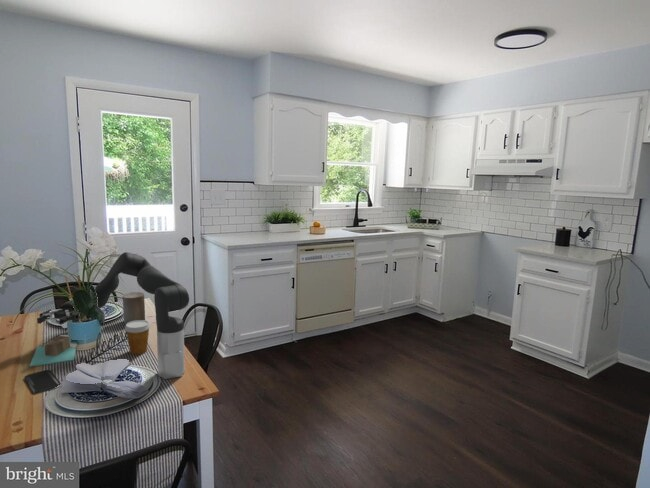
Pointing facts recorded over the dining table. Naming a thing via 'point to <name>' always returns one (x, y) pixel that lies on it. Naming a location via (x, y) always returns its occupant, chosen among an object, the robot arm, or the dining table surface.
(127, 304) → the pillar candle
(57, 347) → the walnut block
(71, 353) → the teal mat
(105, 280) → the robot arm
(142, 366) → the dining table surface
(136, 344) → the disposable coffee cup
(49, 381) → the phone
